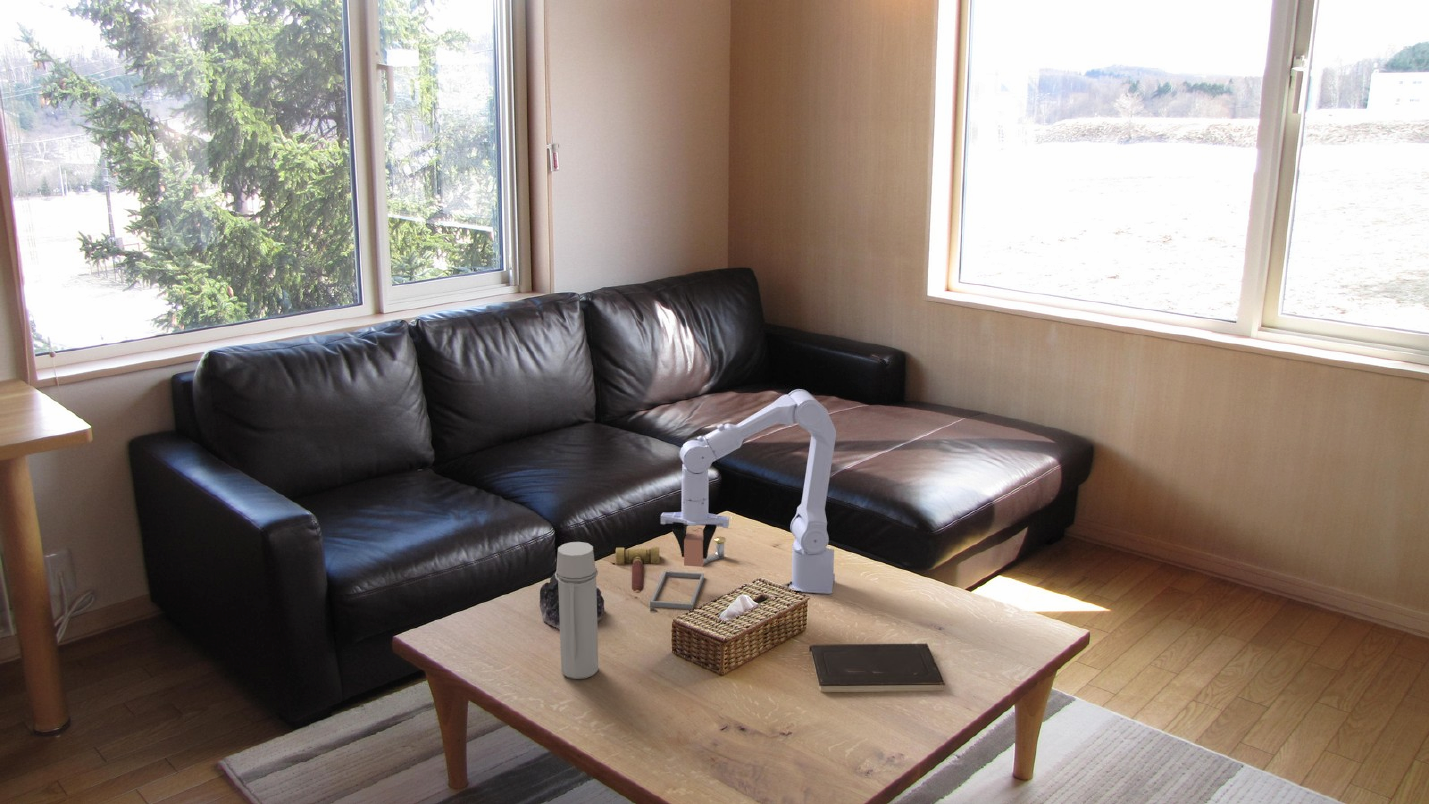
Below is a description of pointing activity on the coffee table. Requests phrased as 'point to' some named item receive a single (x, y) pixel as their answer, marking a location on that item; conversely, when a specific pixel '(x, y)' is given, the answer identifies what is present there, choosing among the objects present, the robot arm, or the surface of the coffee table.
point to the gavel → (637, 563)
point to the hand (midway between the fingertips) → (694, 556)
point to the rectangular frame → (673, 604)
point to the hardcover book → (875, 667)
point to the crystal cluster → (551, 602)
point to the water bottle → (577, 609)
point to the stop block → (693, 549)
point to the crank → (717, 550)
